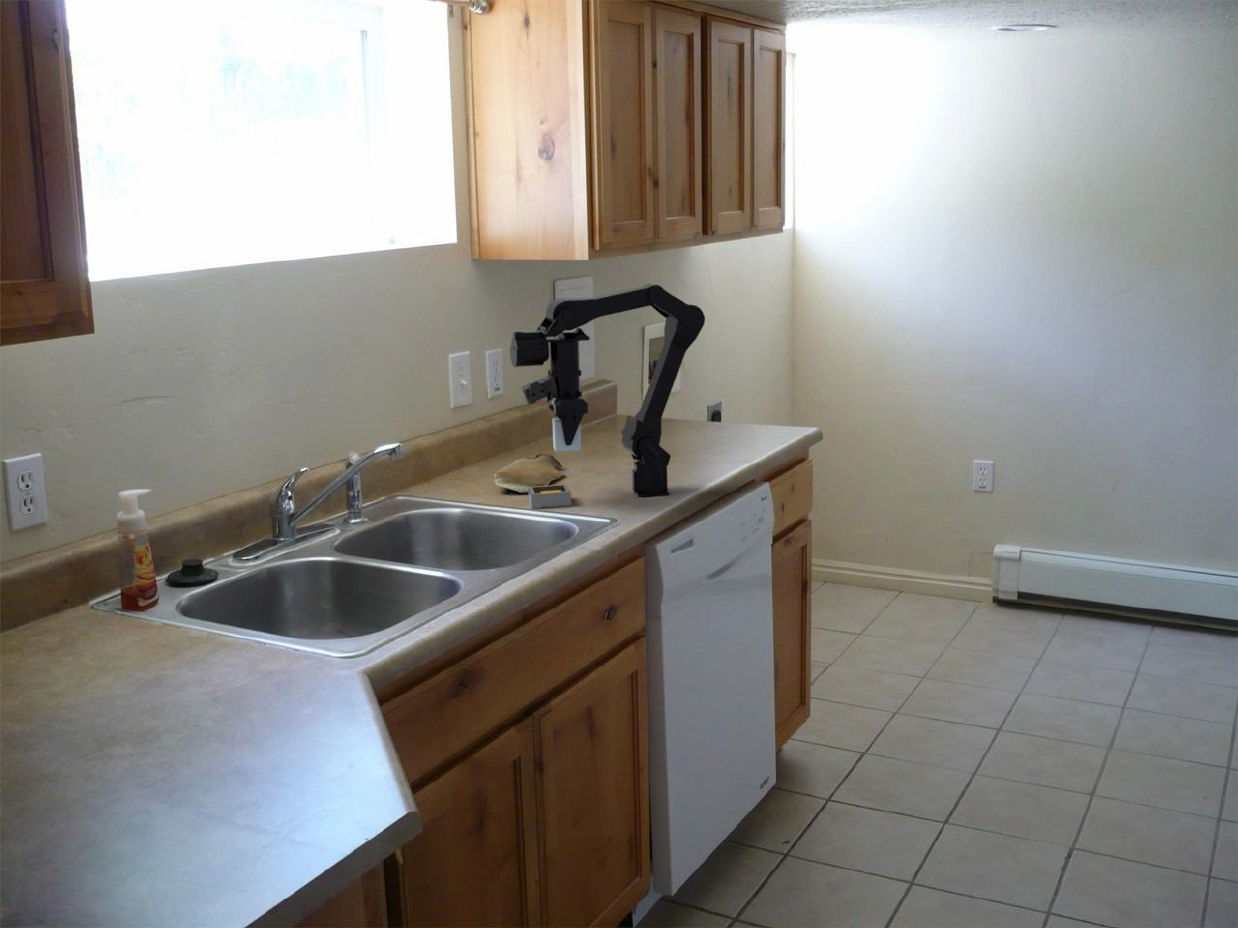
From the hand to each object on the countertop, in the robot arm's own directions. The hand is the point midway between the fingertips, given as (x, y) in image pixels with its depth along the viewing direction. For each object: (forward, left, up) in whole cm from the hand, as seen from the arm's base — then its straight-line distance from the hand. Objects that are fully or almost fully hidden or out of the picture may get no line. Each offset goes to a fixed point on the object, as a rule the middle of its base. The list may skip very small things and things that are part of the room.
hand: (566, 443), depth 240 cm
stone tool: (+5, -20, -12) cm, 24 cm away
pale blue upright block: (0, 0, -1) cm, 1 cm away
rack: (+4, 0, -12) cm, 13 cm away
